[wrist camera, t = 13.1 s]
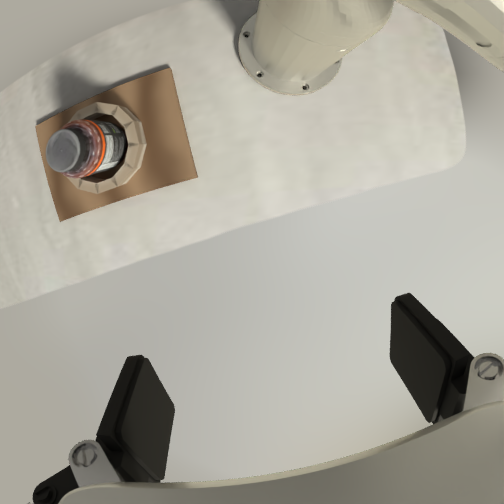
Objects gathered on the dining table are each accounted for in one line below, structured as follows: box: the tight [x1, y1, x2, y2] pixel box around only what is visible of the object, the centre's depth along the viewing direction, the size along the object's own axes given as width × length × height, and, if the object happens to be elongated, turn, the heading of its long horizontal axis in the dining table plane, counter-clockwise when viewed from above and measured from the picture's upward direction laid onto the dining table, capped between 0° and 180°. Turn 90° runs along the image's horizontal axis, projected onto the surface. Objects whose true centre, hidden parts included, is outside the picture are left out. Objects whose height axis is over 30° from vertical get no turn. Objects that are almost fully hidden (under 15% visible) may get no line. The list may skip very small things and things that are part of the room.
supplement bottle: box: [46, 120, 128, 178], centre depth 27 cm, size 6×6×11 cm
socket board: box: [35, 68, 198, 222], centre depth 32 cm, size 20×14×4 cm
